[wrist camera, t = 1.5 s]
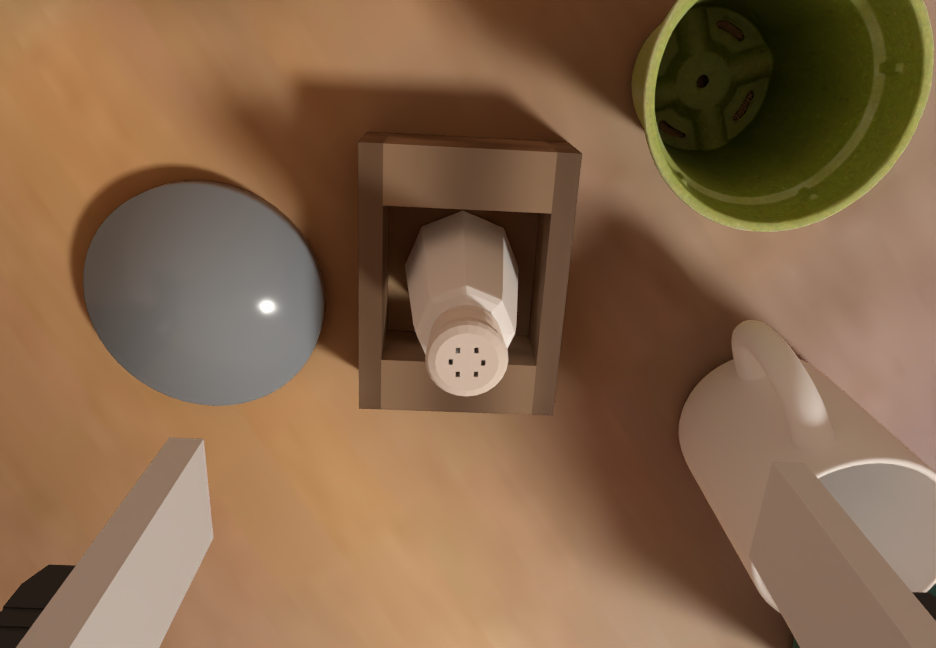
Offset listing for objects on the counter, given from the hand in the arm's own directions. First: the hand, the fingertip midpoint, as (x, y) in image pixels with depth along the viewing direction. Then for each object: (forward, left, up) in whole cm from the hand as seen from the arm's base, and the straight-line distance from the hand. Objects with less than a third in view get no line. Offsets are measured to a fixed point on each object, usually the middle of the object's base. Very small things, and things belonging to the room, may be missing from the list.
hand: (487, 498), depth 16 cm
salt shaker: (0, 0, -19) cm, 19 cm away
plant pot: (+10, +9, -19) cm, 23 cm away
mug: (+15, -6, -19) cm, 25 cm away
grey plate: (-12, -2, -19) cm, 22 cm away
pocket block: (0, 0, -19) cm, 19 cm away
